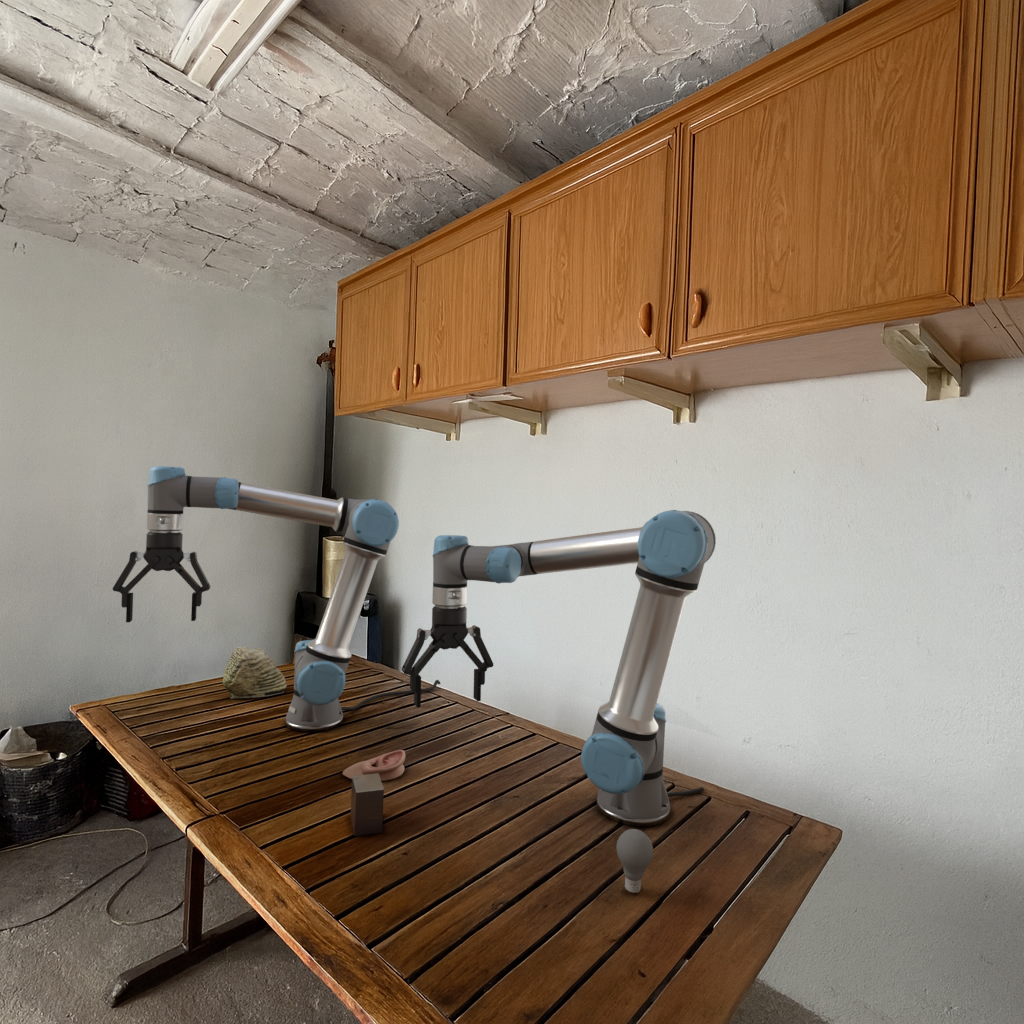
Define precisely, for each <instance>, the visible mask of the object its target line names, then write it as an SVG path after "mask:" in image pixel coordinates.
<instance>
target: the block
mask: <svg viewBox="0 0 1024 1024" xmlns="http://www.w3.org/2000/svg"><path fill="white" fill-rule="evenodd" d="M350 794H351V795H350V822H351V826H352V831H353V836H354V837H359V836H367V835H375V834H381V833H383V823H384V822H383V821H384V800H385V799H384V795H385V788H384V785H383V783H382V781H381V779H380V776H379V773H375V774H366V775H356V776H352V779H351V793H350Z"/></svg>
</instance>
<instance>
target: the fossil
mask: <svg viewBox="0 0 1024 1024" xmlns="http://www.w3.org/2000/svg"><path fill="white" fill-rule="evenodd" d="M222 676H223V677H222V685H223V687H224V688H225V690H226V691H228V693H229V698H230V699H250V698H264V697H271V696H275V695H281V694H284V693H285V691H286V689H287V687H288V686H287V680H286V678H285V676H284V674H283V673H282V672H281V669H279V668H278V667H277V665H276V663H275V662H274V660H273V659H272V658H271V657H270V656H269V655H268V654H267V653H266V652H265V650H264V649H263V648H260V647H258V648H251V647H247V646H246V647H245V646H238V647H237V648H236V649H235V650H233V651H232V653H231V656H230V657H229V659H228V660H227V663H226V666H225V668H224V671H223V675H222Z"/></svg>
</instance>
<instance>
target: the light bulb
mask: <svg viewBox="0 0 1024 1024" xmlns="http://www.w3.org/2000/svg"><path fill="white" fill-rule="evenodd" d="M615 849H616V854H617V857H618V859H619V861H620V863H621V865H622V867H623V873H624V874H623V875H624V876H625V878H624V888H625V890H627V891H628V892H630V893H634V894H635V893H639V892H640V891H641V889H642V887H641V886H642V879H643V877H644V875H645V871H646V868H647V867H648V866H649V864H650V863H651V861H652V859H653V855H654V847H653V843H652V841H651V838H649V836H648V835H647V834H646V833H645V832H643V831H642V830H641V829H636V828H629V829H627V830H625V831H623V832H622V833H621V834H620V835H619V837H618V839H617V841H616V847H615Z"/></svg>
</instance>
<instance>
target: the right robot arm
mask: <svg viewBox="0 0 1024 1024" xmlns="http://www.w3.org/2000/svg"><path fill="white" fill-rule="evenodd" d="M716 540H717V537H716V533H715V530H714V528H713V526H712V524H711V522H709V520H708V519H706V518H705V517H704V516H703V515H701V514H699V513H697V512H695V511H689V510H678V509H670V510H665V511H662V512H660V513H657V514H656V515H654V516H653V517H651V518H650V519H649V520H647V521H646V522H645V523H644V524H643V526H638V527H632V528H631V527H630V528H623V529H616V530H610V531H602V532H595V533H585V534H580V535H571V536H565V537H557V538H549V539H548V538H547V539H542V540H534V541H526V542H518V543H511V544H501V545H500V544H499V545H492V546H491V545H471V544H469V538H468V536H466V535H460V534H459V535H458V534H457V535H456V534H441V535H440V534H439V535H437V536H435V538H434V540H433V552H432V565H433V566H432V571H433V572H432V597H431V598H432V600H431V602H432V605H434V606H433V607H432V609H431V628H430V629H423V628H418V629H417V631H416V637H415V640H414V642H413V644H412V646H411V648H410V651H409V652H408V654H407V657H406V658H405V661H404V663H403V665H402V667H401V671H402V673H403V674H404V675H406V676H407V675H408V676H409V690H411V691H412V692H413V691H414V693H413V704H414V706H415V708H417V709H419V708H421V707H422V706H421V705H422V703H421V702H422V692H421V689H422V676H421V675H420V673H421V672H422V671H423V669H424V668H425V667H426V665H427V664H428V663H429V662H430V661H431V659H432V658H433V657H434V655H435V654H437V653H438V652H439V650H449V649H452V650H456V649H458V648H461V650H463V652H464V653H465V654H466V655H467V657H468V658H469V659H470V660H471V661H472V663H473V664H474V665H475V666H476V667H477V668H474V669H473V699H474V700H475V701H476V702H481V701H482V686H484V685H485V683H486V672H487V671H488V669H490V668H493V666H494V662H493V660H492V658H491V655H490V653H489V651H488V649H487V647H486V645H485V643H484V640H483V638H482V633H481V628H480V627H479V626H478V625H476V624H475V625H472V626H470V627H468V626H467V619H468V618H467V616H468V615H467V614H468V613H467V612H468V611H467V610H468V608H467V607H466V606H465V605H467V603H468V600H467V599H468V581H475V582H476V581H478V582H486V583H487V582H489V583H496V584H499V585H500V584H513V583H514V582H516V581H517V579H518V578H519V577H527V576H535V575H542V574H551V573H562V572H571V571H581V570H590V569H601V568H602V569H603V568H611V567H620V566H629V565H636V567H635V568H636V569H635V572H634V575H635V577H636V578H637V580H638V582H639V588H638V592H637V596H636V599H635V604H634V607H633V610H632V615H631V617H630V618H631V619H630V621H629V625H628V629H627V633H626V637H625V641H624V644H623V647H622V651H621V652H622V653H621V656H620V659H619V663H618V667H617V670H616V674H615V677H614V680H613V681H614V682H613V684H612V685H613V686H612V690H611V693H610V696H609V700H608V701H607V702H605V703H603V704H601V705H599V708H598V710H597V714H596V717H595V721H594V725H593V729H592V732H591V735H590V736H589V737H588V738H587V739H586V740H585V742H584V743H583V747H582V749H581V755H580V761H581V766H582V770H583V771H584V773H585V774H586V776H587V778H588V780H589V782H591V783H592V784H593V785H594V786H595V787H597V788H598V791H597V794H596V808H597V809H598V811H599V812H600V813H601V814H602V815H603V816H605V817H607V818H608V819H610V820H611V821H614V822H616V823H620V824H623V825H626V826H627V825H628V826H631V827H651V826H652V827H653V826H657V825H660V824H663V823H665V822H666V821H667V820H668V819H669V818H670V815H671V805H670V804H671V803H670V799H669V798H671V797H682V796H689V795H693V794H697V793H702V792H705V788H704V787H703V786H701V787H698V788H697V787H696V788H694V789H689V790H683V791H671V792H668V791H667V788H666V784H665V780H664V775H663V773H664V757H665V756H664V753H665V735H666V723H667V719H666V709H665V707H664V705H662V704H660V703H658V700H659V696H660V692H661V689H662V686H663V682H664V679H665V675H666V671H667V668H668V665H669V660H670V657H671V654H672V649H673V646H674V642H675V638H676V635H677V631H678V628H679V624H680V620H681V617H682V613H683V610H684V606H685V603H686V599H687V597H689V596H691V595H692V594H695V593H697V591H698V588H699V584H700V581H701V577H702V573H703V571H704V566H705V564H706V563H707V562H708V561H709V560H710V559H711V557H712V556H713V553H714V551H715V548H716V544H717V541H716ZM468 634H469V636H470V637H472V639H473V641H474V643H475V645H476V648H477V650H478V652H479V654H480V656H481V658H482V660H483V662H482V661H481V659H480V658H479V656H478V655H477V654H475V652H474V650H473V649H472V648H471V647H470V646H469V644H468V643H467V642H466V641H465V639H466V638H467V636H468ZM429 637H431V639H432V641H431V642H430V643H429V644H428V647H427V648H426V649H425V650H424V651H423V653H422V654H421V656H420V657H419V658H418V656H419V654H420V652H421V650H422V648H423V646H424V644H425V641H426V640H428V638H429ZM417 658H418V659H417Z"/></svg>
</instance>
